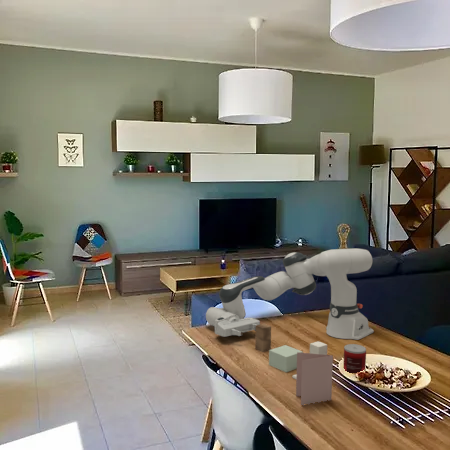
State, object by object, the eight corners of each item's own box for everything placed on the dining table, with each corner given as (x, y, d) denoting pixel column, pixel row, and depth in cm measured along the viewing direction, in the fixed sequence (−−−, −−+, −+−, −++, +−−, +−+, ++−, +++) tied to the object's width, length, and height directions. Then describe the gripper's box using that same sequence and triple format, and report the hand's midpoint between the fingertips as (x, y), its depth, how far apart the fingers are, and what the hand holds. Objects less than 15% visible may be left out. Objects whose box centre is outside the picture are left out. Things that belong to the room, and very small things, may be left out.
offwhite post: (317, 366, 190) (318, 341, 189) (326, 370, 187) (327, 344, 185) (309, 369, 188) (309, 343, 186) (318, 373, 184) (318, 347, 183)
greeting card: (331, 398, 164) (332, 354, 162) (330, 409, 157) (332, 363, 155) (296, 394, 167) (297, 351, 165) (294, 405, 159) (295, 359, 158)
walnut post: (263, 346, 211) (264, 323, 210) (270, 349, 207) (271, 326, 206) (255, 348, 208) (255, 325, 207) (262, 352, 205) (262, 328, 204)
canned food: (356, 371, 186) (358, 342, 185) (369, 380, 178) (370, 350, 177) (338, 374, 183) (339, 345, 182) (350, 383, 176) (352, 352, 175)
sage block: (285, 359, 197) (285, 345, 197) (302, 366, 190) (302, 351, 190) (268, 365, 192) (269, 350, 191) (286, 372, 185) (286, 357, 184)
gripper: (248, 325, 231) (268, 334, 220) (212, 334, 219) (230, 343, 208) (248, 312, 230) (268, 320, 219) (212, 320, 219) (231, 329, 207)
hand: (249, 331), depth 214 cm, fingers open, 8 cm apart
